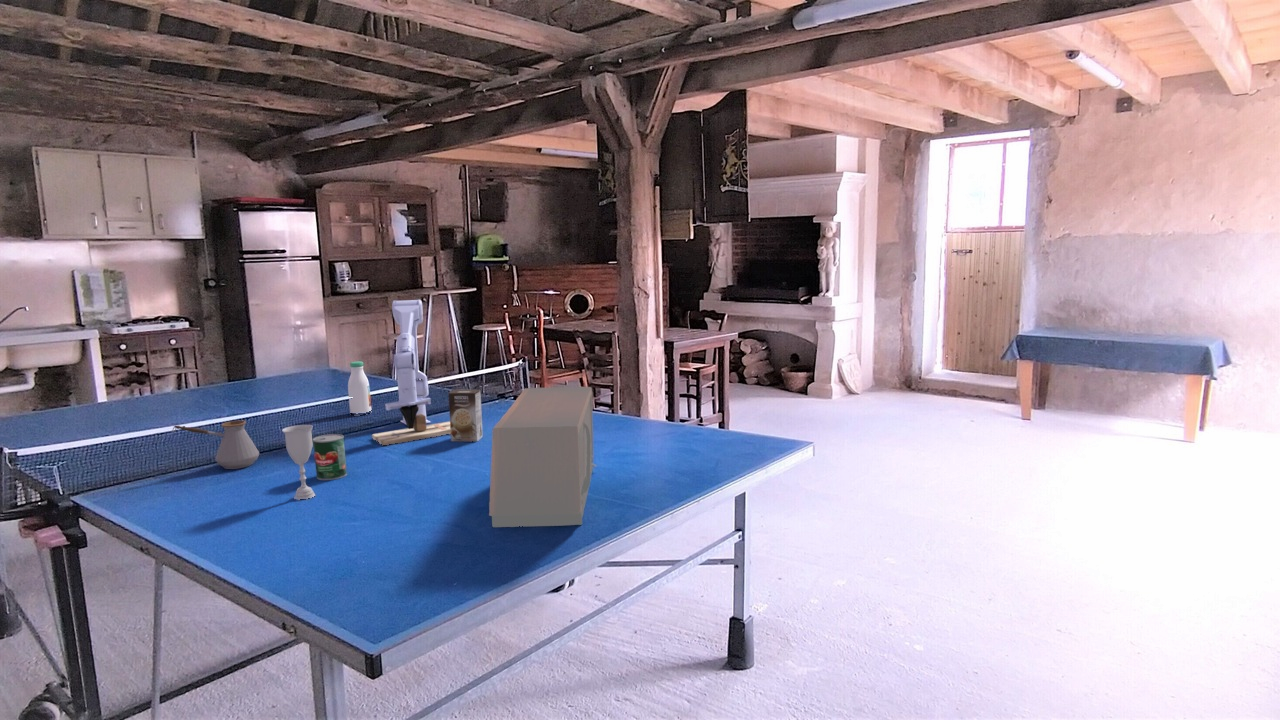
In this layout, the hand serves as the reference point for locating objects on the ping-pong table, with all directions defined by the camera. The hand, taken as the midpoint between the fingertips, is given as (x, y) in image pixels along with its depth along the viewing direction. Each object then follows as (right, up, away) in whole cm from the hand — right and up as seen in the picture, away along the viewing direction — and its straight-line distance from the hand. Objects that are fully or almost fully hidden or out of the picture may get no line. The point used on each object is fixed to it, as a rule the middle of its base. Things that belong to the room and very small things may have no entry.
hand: (410, 428), depth 248 cm
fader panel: (+3, -3, +2) cm, 4 cm away
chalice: (-9, -13, -57) cm, 59 cm away
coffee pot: (-46, -9, -31) cm, 56 cm away
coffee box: (+20, -3, -5) cm, 21 cm away
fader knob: (+3, -1, +2) cm, 3 cm away
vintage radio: (+54, -12, -62) cm, 83 cm away
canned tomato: (-9, -10, -40) cm, 43 cm away
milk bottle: (-30, +2, +37) cm, 48 cm away
